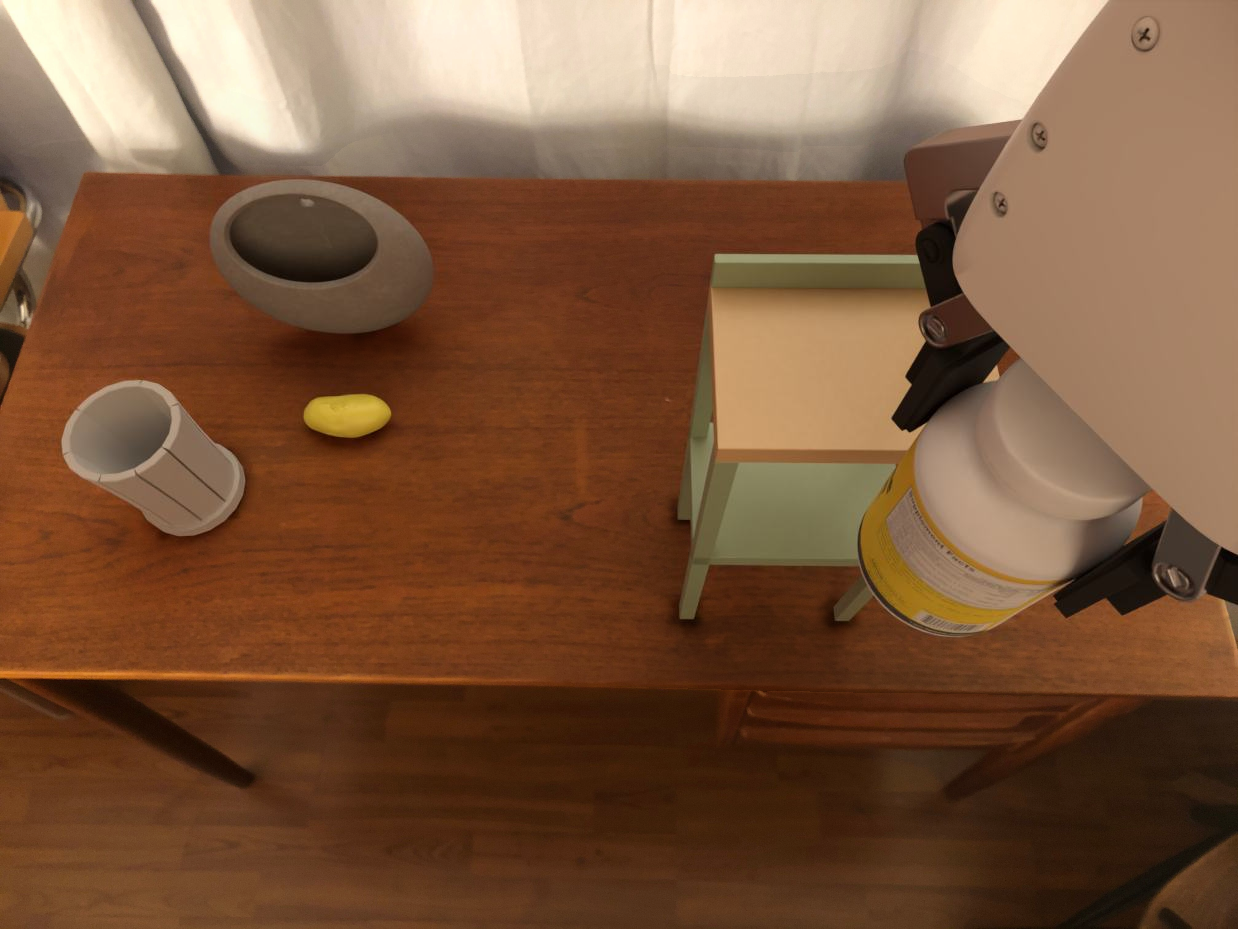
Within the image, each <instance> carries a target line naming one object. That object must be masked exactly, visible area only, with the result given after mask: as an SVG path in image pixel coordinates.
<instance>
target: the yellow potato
mask: <svg viewBox="0 0 1238 929" xmlns="http://www.w3.org/2000/svg"><path fill="white" fill-rule="evenodd" d="M302 416H303V421H304V423H305V425H306V426H307V427H308V428H310V429H311V430H313V431H316V432H319V433H321V434H325V435H327V436H333V437H338V438H346V439H347V438H348V439H352V438H353V439H354V438H361V437H363V436H367V435H369V434H371V433H373V432H377V431H378V430H380V429H382V428H383V427H385V426H386V424H388V422H389V421H390V419H391V417H392V409H391V408H390V407H389V405H388V404H387V403H386V402H385V401H384V400H383V399H381V398H380V397H377V396H375V395H373V394H367V393H357V394H356V393H355V394H352V393H351V394H343V395H333V396H332V395H330V396H318V397H315V398H313V399H312V400H310V401H309V403H308V404H307V405H306V407H305V408H304V410H303V414H302Z"/></svg>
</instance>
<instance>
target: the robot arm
mask: <svg viewBox="0 0 1238 929" xmlns="http://www.w3.org/2000/svg"><path fill="white" fill-rule="evenodd" d="M903 167H904V172H905V177H906V182H907V185H908V186H907V187H908V191H909V194H910V200H911V204H912V208H913V213H914V217H915V220H916V221H920V225H921V230H919V232H917V234H916V237H915V241H914V244H915V250H916V255H918V259H919V263H920V267H921V271H922V275H923V279H924V283H925V287H926V291H927V295H928V299H929V303H930V308H928V309H926V310H924V311H923V312H922V313H921V314H920V316H919V321H918V324H919V329H920V332H921V334H922V336H923V337H924V339H925V340H926V341H925V343H924V345H923V346H922V348H921V350H920V351H919V353H918V355H917V357H916V358H915V360H914V362H913V363H912V365H911V367H910V368H909V370H908V372H907V373H906V376H905V378H906V379H907V380H908V381H909V382H910V383H911V387H910V388H909V390H908V391H907V393H906V395H905V396H904V398H903V400H902V401H901V403H900V404H899V406H898V408H897V409H896V411H895V413H894V414H893V416H892V418H891V419H892V421H893V422H894V423H895V424H896V425H897V426H898V427H899V429H900V430H901V431H904V430H907V431H908V432H909V433H910V432H912V431H914V430H916V429H917V428H919V427H921V426H922V425H924V424H926V423H927V422H928V421H929V420H930V418H931V417H932V416H933V414H934V413H935V412H936V411H937V410H938V409H939V408H940V407H941V406H942V405H943V404H944V403H945V402H946V401H948V400H949V399H950V398H952V397H953V396H955V395H956V394H958V393H960V392H962V391H964V390H966V389H968V388H970V387H973V386H975V385H978V384H981V383H983V382H984V381H985V379H986V378H987V377H988V376H989V374H990V373H991V372H992V370H993V369H994V368H995V366H996V365H997V366H998V364H999V363H1000V362H1001V360H1002V359H1003V357H1004V356H1005V355H1006V354H1007V353H1008V351H1009V350H1010V348H1011V349H1012V351H1014V352H1015V354H1017V356H1019V357H1020V358H1022V359H1023V360H1024V361H1025V362H1026V363H1027V364H1028V365H1029V366H1030V367H1031V369H1032V370H1033V371H1034V372H1035V373H1036V374H1037V375H1038V376H1039V377H1040V378H1041V379H1042V380H1043V381H1044V382H1045V383H1046V384H1047V385H1048V386H1049V387H1050V388H1051V389H1052V390H1053V391H1054V392H1055V393H1056V394H1057V395H1058V396H1059V397H1060V398H1061V399H1062V400H1063V401H1064V402H1065V403H1066V404H1067V405H1068V406H1069V407H1070V408H1071V409H1072V410H1073V411H1074V412H1075V413H1076V414H1077V415H1078V416H1079V417H1080V418H1081V419H1082V420H1083V421H1084V422H1085V423H1086V424H1087V425H1088V426H1089V427H1090V428H1091V429H1092V430H1093V431H1094V432H1095V433H1096V434H1097V435H1098V436H1099V437H1100V438H1101V439H1102V440H1103V441H1104V442H1105V443H1106V444H1107V445H1108V446H1109V447H1110V448H1111V449H1112V450H1113V451H1114V452H1115V453H1116V454H1117V455H1118V456H1119V457H1120V458H1121V459H1122V460H1123V461H1124V462H1125V463H1126V464H1127V465H1128V466H1129V467H1130V468H1131V469H1132V470H1133V471H1134V472H1135V473H1137V474H1138V475H1139V476H1140V477H1141V478H1142V479H1143V480H1144V481H1145V482H1146V483H1147V484H1148V485H1149V486H1150V487H1151V488H1152V489H1153V490H1152V491H1153V492H1155V493H1156V494H1157V495H1158V496H1159V497H1160V498H1161V499H1162V500H1163V501H1164V502H1165V503H1166V504H1167V505H1168V506H1170V509H1169V512H1168V515H1167V517H1166V519H1165V520H1164V521H1162V522H1161V523H1158V524H1157V525H1155V526H1153V528H1151V529H1149V530H1148V531H1145V532H1143V534H1141V535H1139V536H1137V537H1136V538H1134V539H1132V540H1131V541H1129V542H1126V543H1125V544H1124V546H1123V547H1122V548H1121V549H1120V550H1119V551H1118V552H1117V553H1116V554H1114V555H1113V556H1112V557H1110V558H1109V559H1107V560H1106V561H1104V562H1103V563H1101V564H1100V565H1098V566H1097V567H1095V568H1094V569H1092V570H1091V571H1089V572H1087V573H1085V574H1084V575H1082V576H1080V577H1078V578H1077V579H1075V580H1073V581H1072V582H1070V583H1068V584H1066V585H1065V586H1063V587H1061V588H1060V589H1059V590H1057V592H1055V593H1054V594H1052V597H1053V598H1054V599H1055V601H1054V602H1053V605H1054V606H1055V608H1056V609H1057V610H1058V611H1059V613H1060V614H1061V615H1062V616H1063V617H1064V618H1065V619H1068V618H1070V617H1072V616H1074V615H1076V614H1077V613H1079V612H1081V611H1083V610H1085V609H1087V608H1089V607H1091V606H1093V605H1096V604H1097V603H1099V602H1101V601H1103V600H1105V599H1106V600H1107V602H1108V603H1109V604H1110V605H1111V606H1112V607H1113V608H1114V609H1115V610H1116V611H1117V612H1118V613H1119V614H1120V616H1122V617H1123V616H1125V615H1128V614H1130V613H1132V612H1134V611H1136V610H1138V609H1140V608H1143V607H1144V606H1147V605H1149V604H1151V603H1153V602H1155V601H1157V600H1160V599H1162V598H1165V597H1166V596H1168V597H1170V598H1172V599H1174V600H1176V601H1179V602H1181V603H1182V602H1183V603H1194V602H1196V601H1199V599H1200V598H1202V597H1203V596H1205V595H1209V596H1211V597H1214V598H1217V599H1219V600H1222V601H1225V602H1228V603H1230V604H1233V605H1236V606H1238V0H1107V2H1106V3H1105V4H1104V6H1103V7H1102V8H1101V10H1100V11H1099V12H1098V13H1097V14H1096V16H1095V17H1094V18H1093V20H1092V21H1091V22H1090V23H1089V24H1088V26H1087V27H1086V29H1085V30H1084V31H1083V32H1082V34H1081V35H1080V36H1079V37H1078V39H1077V40H1076V42H1075V43H1074V45H1073V46H1072V47H1071V49H1070V50H1069V51H1068V53H1067V54H1066V55H1065V57H1064V58H1063V60H1062V61H1061V63H1060V64H1059V65H1058V67H1056V69H1055V70H1054V72H1053V73H1052V75H1051V76H1050V78H1049V79H1048V81H1047V82H1046V83H1045V85H1044V87H1043V88H1042V89H1041V91H1040V92H1039V93H1038V95H1037V96H1036V97H1035V99H1034V101H1033V102H1032V104H1031V105H1030V107H1029V108H1028V110H1027V112H1026V113H1025V114H1024V116H1023V118H1021V119H1013V120H1006V121H1000V122H994V123H993V122H992V123H987V124H986V123H985V124H979V125H971V126H965V127H957V128H950V129H947V130H944V131H942V132H940V133H938V134H936V135H934V136H932V137H930V138H928V139H926V140H924V141H923V142H920V143H919V144H916V145H914V146H913V147H910V148H908V149H907V151H906V152H905V153H904V157H903Z"/></svg>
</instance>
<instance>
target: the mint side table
mask: <svg viewBox="0 0 1238 929" xmlns="http://www.w3.org/2000/svg"><path fill="white" fill-rule="evenodd" d="M706 302H707V303H706V309H705V317H704V323H703V330H702V336H701V344H700V351H699V358H698V363H697V369H696V370H697V371H696V378H695V385H694V386H695V387H694V391H693V398H692V405H691V412H690V413H691V414H690V419H689V426H688V432H687V440H686V446H685V454H684V461H683V467H682V473H681V474H682V475H681V481H680V488H679V494H678V495H679V496H678V501H677V521H678V520H679V521H688V520H689V521H690V552H689V556H688V562H687V566H686V571H685V575H684V581H683V585H682V589H681V595H680V598H679V603H678V618H679V619H680V620H694V619H695V616H696V612H697V609H698V605H699V602H700V598H701V595H702V592H703V588H704V585H705V581H706V577H707V574H708V571H709V568H710V565H711V566H712V565H713V566H786V567H787V566H790V567H793V566H794V567H860V566H859V562H858V556H857V536H858V531H859V527H860V523H861V521H862V518H863V516H864V514H865V512H866V510H867V509H868V507H869V505H870V504H871V502H872V501H873V500H874V498H875V497H876V495H877V494H878V492H879V491H880V489H881V488H882V486H883V485H884V484H885V482H886V481H887V479H888V478H889V476H890V475H891V474H892V472H893V471H894V469H895V468H896V467H897V465H898V464H899V462H900V461H901V460H902V458H903V457H904V455H905V454H906V452H907V451H908V449H909V448H910V446H911V445H912V443H913V442H914V441H915V439H916V438H917V436H918V435H919V433H920V432H921V431H922V429H923V428H924V426H925V425H926V424H927V423H926V424H924V425H922V426H921V427H919V428H917V429H916V430H914V431H912V432H910V433H909V432H908V431H907V430H904V431H901V430H900V429H899V427H898V426H897V425H896V424H895V423H894V422H893V421H892V419H891V418H892V416H893V414H894V413H895V411H896V409H897V408H898V406H899V404H900V403H901V401H902V400H903V398H904V396H905V395H906V393H907V391H908V390H909V388H910V387H911V383H910V382H909V381H908V380H907V379H906V378H905V376H906V373H907V372H908V370H909V368H910V367H911V365H912V363H913V362H914V360H915V358H916V357H917V355H918V353H919V351H920V350H921V348H922V346H923V345H924V343H925V341H926V340H925V339H924V337H923V336H922V334H921V332H920V329H919V324H918V321H919V316H920V314H921V313H922V312H923V311H924V310H926V309H928V308H930V303H929V299H928V295H927V291H926V287H925V283H924V279H923V275H922V271H921V267H920V263H919V259H918V255H917V254H823V253H822V254H821V253H820V254H819V253H818V254H816V253H815V254H811V253H809V254H807V253H806V254H803V253H802V254H801V253H714V255H713V261H712V267H711V274H710V281H709V288H708V296H707V301H706ZM1000 377H1001V376H1000V373H999V368H998V364H997V365H996V366H995V368H994V369H993V370H992V372H991V373H990V374H989V376H988V377H987V378H986V379H985V381H984V382H983V383H985V382H989V381H994V380H998V379H999V378H1000ZM711 420H712V422H711ZM873 597H875V596H874V595H873V594H872V592H871V591H870V589H869V588H868V586H867V584H866V582H865V580H864V577H863V575H862V574H861V575H860V576H859V577H858V578H857V579H856V580H855V582H854V583H852V585H851V586H850V587H849V588H848V589H847V591H846V592H845V593H844V594H843V595H842V597H841V598H840V599H839V600H838V601H837V602H836V603H835V605H833V607H832V608H833V617H834V621H835V622H849V621H850V620H851V619H852V618H854V616H855V615H856V614H857V613H859V611H860V610H861V609H862V608H864V606H865V605H866V604H867V603H868V602H869V601H870V600H871V599H872V598H873Z"/></svg>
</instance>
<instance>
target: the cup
mask: <svg viewBox="0 0 1238 929" xmlns="http://www.w3.org/2000/svg"><path fill="white" fill-rule="evenodd" d="M60 442H61V452H62V457H63V459H64V461H65V463H66V464H67V466H68V467H69V469H70V471H72V472H74V473H75V474H76V475H77V476H79V477H80V478H81V479H83V480H86V481H87V482H89V483H92V484H93V485H95V486H97V487H99V488H101V489H102V490H105V491H107V492H109V493H110V494H112V495H113V496H116V497H117V498H120V499H121V500H123V501H125V502H126V503H128V504H130V505H132V506H134V507H135V508H136V509H138V510H140V511H141V513H142V514H143V516H144V517H145V520H147V521H148V522H149V523H151V524H152V525H153V526H155V527H156V528H157V529H159V530H160V531H162V532H163V533H166V534H170V535H172V536H177V537H187V536H188V537H190V536H197V535H200V534H203V533H206V532H209V531H212V530H213V529H214V528H216V527H218V526H219V525H221V524H222V523H223V522H225V521H226V520H227V519H228V518H229V517H230V516H231V515H232V514H233V512H235V511H236V509H237V508H238V505H239V504H240V502H241V500H242V498H243V497H244V492H245V487H246V476H245V471H244V467H243V465H242V464H241V463H240V461H239V459H238V458H237V457H236V455H235V454H233V452H232V451H230V450H228V448H226V447H224V446H223V445H221V444H220V443H216V442H215V441H213V439H211V438H210V436H208V434H207V433H206V432H205V431H203V429H202V428H201V427H200V425H199V424H197V422H196V421H195V420H194V419H193V418H192V417H191V415H190V414H189V413H188V411H187V410H186V409H185V408H184V407H183V405H182V404H181V403H180V402H179V401H178V399H177V398H176V396H175V395H174V394H173V393H172V392H171V391H170V390H169V389H167V388H165V387H164V386H163V385H161V384H160V383H156V382H153V381H148V380H144V379H143V380H142V379H133V380H123V381H119V382H116V383H113V384H110V385H106V386H105V387H103V388H101V389H99V390H98V391H96V392H94V393H92V394H90V395H89V396H88V397H87V398H86V399H85V400H83V401H82V402H81V403H80V404H79V405H78V406H77V407H76V409H75V410H74V411H73V412H72V414H71V416H70V417H69V418H68V420H67V421H66V424H65V426H64V430H63V433H62V436H61V441H60Z"/></svg>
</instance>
